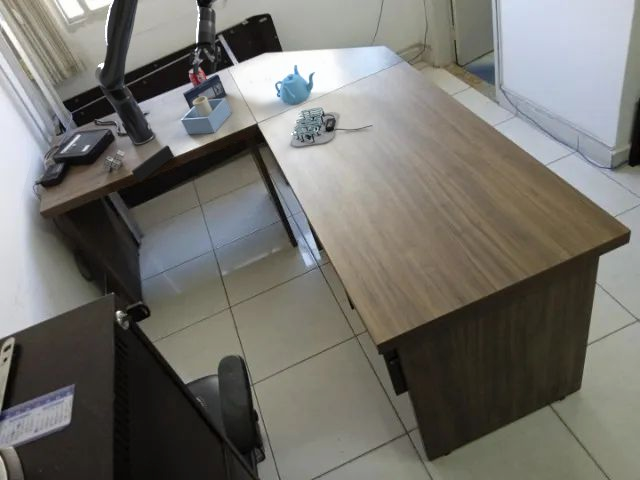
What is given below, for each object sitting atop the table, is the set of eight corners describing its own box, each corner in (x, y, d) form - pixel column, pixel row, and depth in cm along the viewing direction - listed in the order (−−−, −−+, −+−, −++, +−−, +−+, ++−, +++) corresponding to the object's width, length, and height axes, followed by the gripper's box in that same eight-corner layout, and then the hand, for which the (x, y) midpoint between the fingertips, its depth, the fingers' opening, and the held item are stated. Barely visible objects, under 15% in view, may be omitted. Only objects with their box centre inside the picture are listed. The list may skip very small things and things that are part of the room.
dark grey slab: (172, 155, 188) (166, 145, 185) (174, 156, 187) (168, 145, 184) (138, 181, 179) (131, 170, 176) (139, 182, 179) (133, 171, 175)
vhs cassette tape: (194, 114, 212) (184, 94, 205) (191, 113, 214) (181, 93, 207) (227, 95, 218) (219, 75, 212) (224, 94, 220) (215, 73, 214)
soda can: (213, 88, 228) (203, 65, 221) (210, 95, 223) (199, 71, 215) (200, 91, 230) (189, 68, 222) (196, 98, 225) (185, 74, 217)
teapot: (274, 101, 201) (266, 78, 194) (304, 85, 204) (297, 62, 198) (290, 110, 190) (282, 87, 183) (321, 94, 194) (315, 70, 187)
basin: (187, 134, 199) (180, 119, 194) (205, 114, 209) (199, 100, 204) (214, 132, 193) (207, 117, 189) (231, 112, 203) (225, 98, 199)
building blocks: (115, 174, 193) (120, 160, 188) (102, 168, 191) (107, 154, 186) (120, 167, 197) (125, 152, 192) (107, 161, 195) (111, 146, 190)
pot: (200, 125, 200) (190, 104, 193) (206, 118, 204) (197, 96, 197) (211, 124, 197) (201, 103, 191) (218, 117, 201) (208, 95, 195)
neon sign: (369, 126, 157) (286, 138, 166) (371, 137, 160) (290, 148, 168) (374, 95, 172) (297, 108, 180) (376, 106, 175) (300, 118, 183)
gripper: (186, 32, 196) (184, 72, 196) (214, 28, 190) (212, 68, 190) (198, 40, 203) (196, 78, 203) (225, 35, 197) (223, 75, 197)
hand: (204, 73), depth 196 cm, fingers open, 8 cm apart
